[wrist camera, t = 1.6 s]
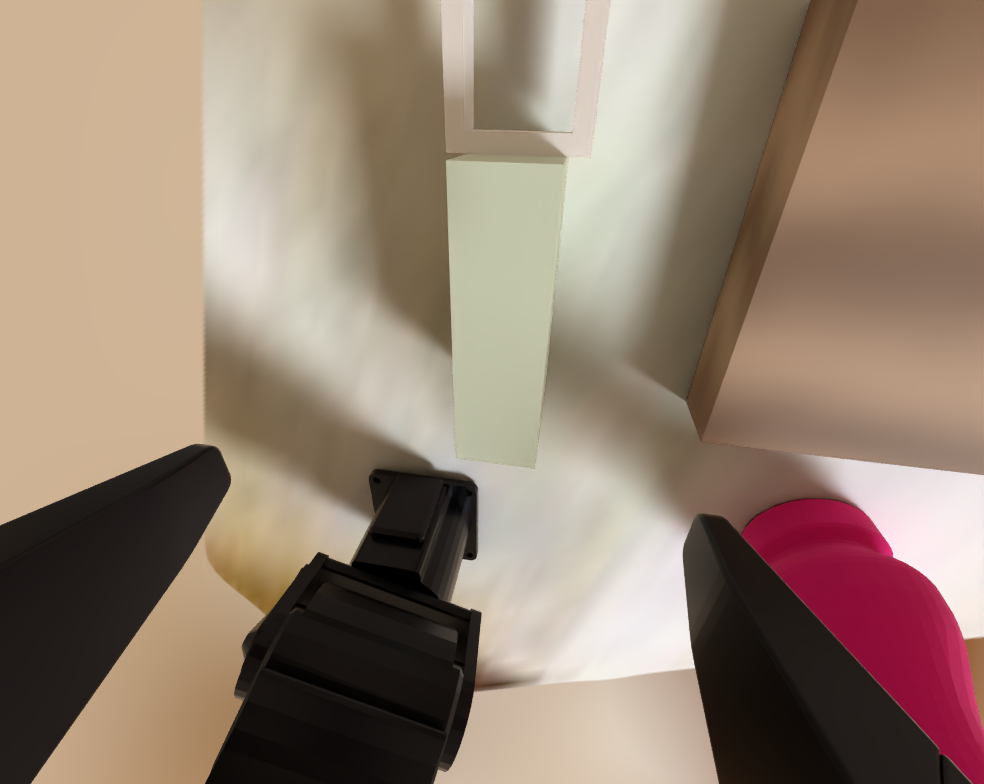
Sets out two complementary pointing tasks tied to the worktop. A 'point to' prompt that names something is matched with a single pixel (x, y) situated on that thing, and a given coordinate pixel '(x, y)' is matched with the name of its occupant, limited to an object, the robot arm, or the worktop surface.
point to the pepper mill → (879, 616)
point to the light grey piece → (505, 246)
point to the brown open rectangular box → (862, 249)
